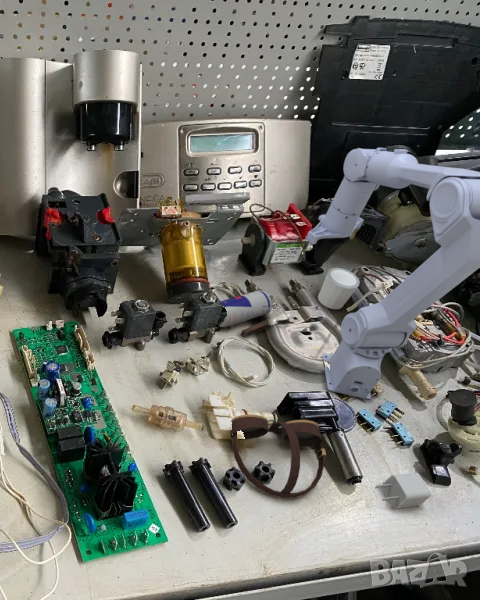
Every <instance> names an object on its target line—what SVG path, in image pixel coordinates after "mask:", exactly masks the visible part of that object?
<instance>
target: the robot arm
mask: <svg viewBox="0 0 480 600" xmlns="http://www.w3.org/2000/svg"><path fill="white" fill-rule="evenodd" d="M343 175H344V176H343V179H342V180H341V183H340V185H339V186H338V189H337V191H336V193H335V195H334V197H333V200H332V201H331V202H330V205H329V207H328V209H327V211H326V213H325V214H320V215H319V216H318V218H317V219H318V220H319V222H318V224H316V226H315V227H314V228H312V229H311V230H309V231H308V232H307V235H306V237H305V240H306V241H307V242H309V243H310V244H312V245H314V253H313V260H314V261H315V262H317V263H318V264H319V265H322V264H325V263H326V262H327V261H328V260H329V259H331V257H332V256H333V255H334V253H336V251H337V250H339V249H340V248H341V247H342V246H344V245H345V244H347V243H349V242H350V240H351V237H350V236H351V235H352V234H353V232H354V231H355V230H356V229H359V228H361V226H362V225H363V223H364V221H365V219H364V218H362V217H360V216H361V214H362V212H363V211H364V209H365V207H366V206H367V203H368V202H369V199H370V198H371V196H372V194H373V193H374V191H377V190H378V189H379V188H380V186H383V187H388V188H392V189H398V190H399V189H400V190H401V189H404V188H407V187H409V186H410V185H414V186H417V187H421V188H423V189H428V190H427V193H426V194H427V195H426V201H427V202H429V213H430V218H431V219H430V220H431V224H432V230H433V237H434V241H435V242H436V243H437V244H438V245H440V248H438V249H437V250H436V251H434V252H433V254H432V255H431V256H430V257H428V258H427V259H426V260H425V261H424V262H422V264H420V265H419V266H418V267H417V268H415V270H414V271H413V272H411V274H409V275H408V276H407V277H406V278H405V279H404V280H403V281H402V282H400V283H399V284H398V285H397V286H396V287H395V288H394V289H393V290H392V291H391V292H390V293H388V295H386V296H385V297H384V298H383V299H382V300H381V301H379V302H377V303H373V304H370V305H366V306H363V307H360V308H359V309H358V310H356V311H355V312H350V313H348V314H346V315H345V316H344V318H343V319H342V322H341V325H340V336H341V338H342V340H341V341H340V343H339V345H338V346H337V348H336V349H335V351H334V353H332V354H330V353H326V352H323V353H322V362H323V361H325V360H326V361H329V360H330V361H329V362H330V370H329V368H328V367H327V366H326V367H324V366H323V368H324V375H325V380H326V387H327V390H328V391H330V392H333V393H338V394H342V395H347V396H351V397H356V398H361V399H364V400H371V399H372V393H371V392H372V390H373V389H374V388H375V387H376V386H377V384H378V382H379V381H380V380H381V378H382V371H381V363H382V361H383V358H384V356H385V355H386V354H388V353H391V351H392V350H393V349H394V348H395V349H399V348H402V347H403V346H405V345H406V343H407V342H408V340H409V338H410V336H411V335H412V334H413V333H414V332H415V331H416V330H417V326H416V321H415V320H416V318H417V317H419V316H420V315H421V314H423V313H424V312H425V311H427V310H428V309H429V308H430V307H431V306H433V305H434V304H435V303H437V302H438V301H439V300H440V299H442V298H443V297H444V296H446V294H448V293H449V292H450V291H452V290H453V289H454V288H456V287H457V286H458V285H460V284H461V283H462V282H463V281H465V280H466V279H467V278H468V277H469V276H471V275H472V274H473V273H475V272H476V271H477V270H479V269H480V171H478V170H477V171H476V170H472V169H466V168H459V167H452V166H451V167H450V166H442V165H433V164H423V163H419V161H418V159H417V158H416V157H415V156H414V155H412V154H410V153H408V150H407V149H400V148H395V149H393V151H388V150H387V148H386V147H377V148H376V149H375V148H373V149H372V148H360V147H357V148H354V149H352V150H350V151H349V152H348V153H347V155H346V157H345V159H344V162H343Z"/></svg>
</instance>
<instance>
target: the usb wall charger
mask: <svg viewBox="0 0 480 600" xmlns="http://www.w3.org/2000/svg"><path fill="white" fill-rule="evenodd" d="M374 489H382V491H384V494H385V495H386V497H383V498H382V500H381V501H383V502H384V501H385V502H386V501H389V502H390V504H391V506H392V507H394V508H395V509H397V508H406V507H415V506H421V505H422V504H424V503H425V502H426V501H427V500H428V499H430V497H431V496H432V492H431V490H430V489H429V487H428V486H427V483H426V482H425V481H424V480H423V477H422V476H421V474H419V472H410V473H409V472H408V473H401V474H392V475H389V477H388V478H387V479H386V480H385V481H384V482H383V483H382V484H378V485H376V486H375V488H374Z"/></svg>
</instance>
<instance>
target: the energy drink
mask: <svg viewBox="0 0 480 600" xmlns="http://www.w3.org/2000/svg"><path fill="white" fill-rule="evenodd" d="M257 290H258V291H256V290H254V291H255V292H254V291H251V292H248V293H245V294H241V295H237V296H234V297H231V298H227V299H224V300H221V301H220V300H219V302H221V303H222V305H223V306H224V307H225V309H226V311H227V316H226V318H225V320H224V322H223V324H222V326H220V328H227V327H229V326H233V325H237V324H239V323H243V322H246V321H249V320H252V319H253V320H254V319H256V318H259V317H262V316H265V315H268V314H270V312H271V310H272V307H273V303H272V298H271V296H270V295H269V294H268V293H267V292H266V291H265V290H263V289H262V290H263V291H262V290H259V289H257ZM267 313H268V314H267Z"/></svg>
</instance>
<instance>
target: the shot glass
mask: <svg viewBox="0 0 480 600" xmlns="http://www.w3.org/2000/svg"><path fill="white" fill-rule="evenodd" d="M360 283H361V282H360V279H359V277H358V276H357V275H356V274H355V273H353V272H352V271H351V270H349V269H348V270H347V269H346V268H341V267H331V268H330V269H328V271H327V273H326V276H325V278H324V280H323V283H322V285H321V287H320V290H319V293H318V295H317V299H318V301H319V303H320V304H321V305H322V306H324V307H325V308H328V309H331V310H340V309H342V308H343V307H344V306H345V304H346V303H347V302H348V300H349V299H350V298H351V297H352V295H353V294H354V293H355V291H356V290H357V289H358V287H359V286H360Z"/></svg>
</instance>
